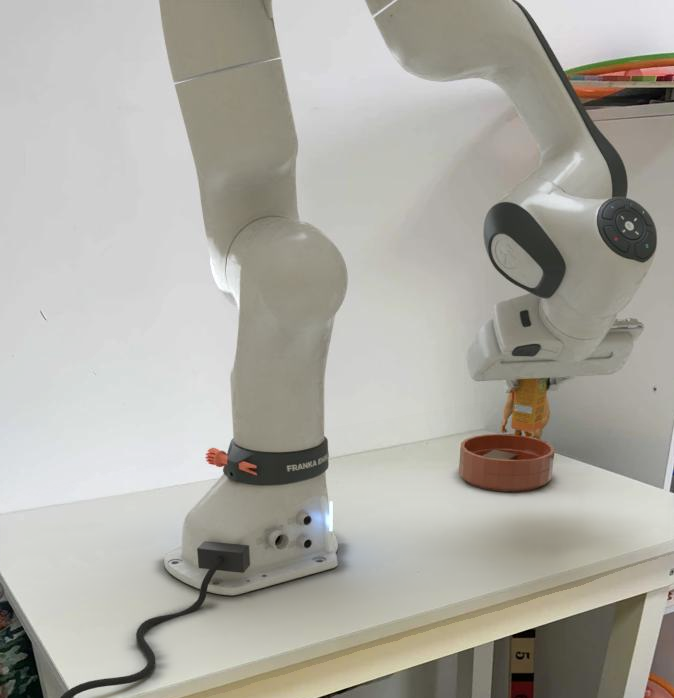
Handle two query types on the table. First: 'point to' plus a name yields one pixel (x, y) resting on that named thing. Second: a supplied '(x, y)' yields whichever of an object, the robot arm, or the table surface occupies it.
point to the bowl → (506, 462)
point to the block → (501, 455)
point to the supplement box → (529, 404)
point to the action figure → (536, 433)
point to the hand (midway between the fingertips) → (528, 387)
